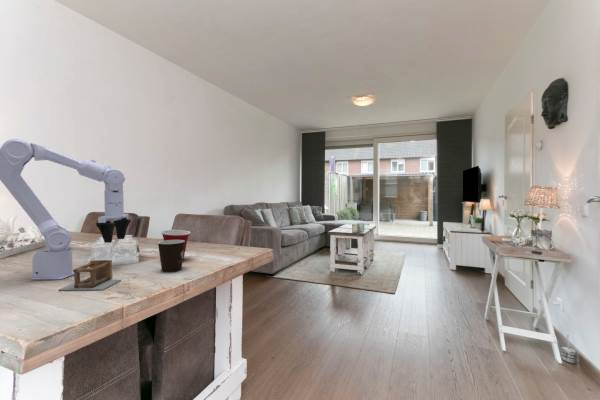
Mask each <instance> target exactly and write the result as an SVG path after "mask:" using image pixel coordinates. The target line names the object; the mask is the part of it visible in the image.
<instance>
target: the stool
mask: <svg viewBox="0 0 600 400" xmlns="http://www.w3.org/2000/svg"><path fill="white" fill-rule="evenodd" d="M73 272H74V275H73V276H74V279H73V280H74V283H75V285H74V287H75V288H77V287H91V288H93V287H95V286H96V285H98V284H100V283H102V282H104V281H106V280H113V262H112V259H94V260H93V259H91V260H89V262H88V263H87V264H84V265H81V266H79V267H76V268H74V269H73ZM81 273H89V276H90V277H88V278H86V279H82V280H83V281H81V282H80V280H81ZM96 280H98V281H97V282H96ZM89 281H91V283H87V282H89Z"/></svg>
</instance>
